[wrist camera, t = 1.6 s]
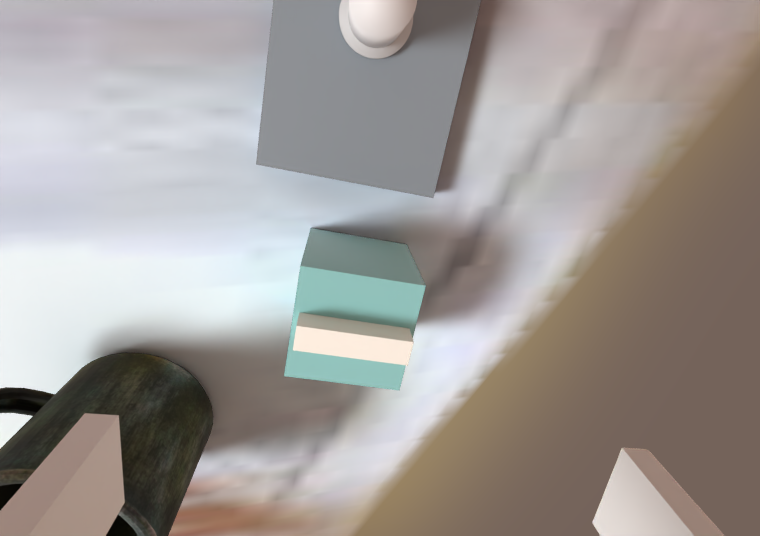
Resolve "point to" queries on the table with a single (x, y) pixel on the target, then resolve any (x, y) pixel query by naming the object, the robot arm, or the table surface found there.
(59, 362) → the table surface
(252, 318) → the table surface
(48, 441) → the mug
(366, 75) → the post board
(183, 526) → the table surface
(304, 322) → the teal cube with ledge
